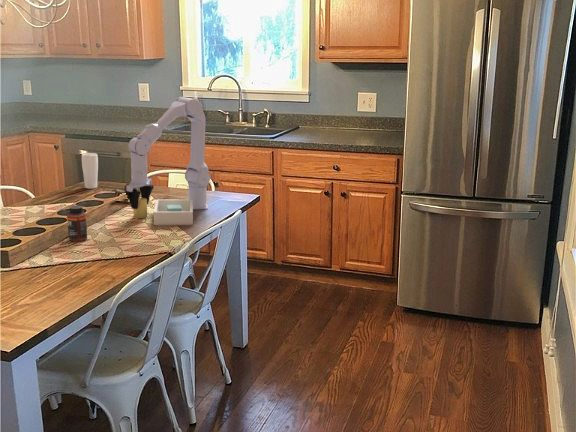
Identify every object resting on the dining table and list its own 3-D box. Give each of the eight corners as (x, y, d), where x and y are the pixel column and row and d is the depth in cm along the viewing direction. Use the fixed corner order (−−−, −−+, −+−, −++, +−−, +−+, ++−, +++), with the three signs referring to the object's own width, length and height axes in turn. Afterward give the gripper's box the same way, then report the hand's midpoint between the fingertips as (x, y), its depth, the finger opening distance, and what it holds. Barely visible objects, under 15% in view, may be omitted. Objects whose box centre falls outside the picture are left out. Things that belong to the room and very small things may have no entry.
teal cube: (167, 217, 234) (167, 205, 232) (180, 217, 235) (180, 204, 234) (167, 221, 229) (167, 208, 228) (181, 221, 230) (181, 208, 229)
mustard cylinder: (134, 215, 237) (133, 197, 235) (147, 215, 238) (147, 197, 236) (133, 219, 233) (132, 200, 231) (146, 219, 233) (146, 200, 232)
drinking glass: (80, 188, 272) (78, 155, 268) (87, 185, 279) (85, 152, 275) (94, 190, 271) (93, 156, 267) (101, 186, 278) (100, 153, 274)
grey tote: (156, 211, 243) (156, 199, 242) (192, 211, 245) (192, 199, 244) (153, 225, 226) (153, 212, 224) (192, 225, 228) (192, 212, 227)
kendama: (142, 194, 270) (138, 205, 251) (119, 195, 268) (113, 206, 249) (141, 181, 268) (137, 191, 249) (118, 181, 267) (112, 191, 248)
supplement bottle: (89, 236, 211) (87, 204, 208) (84, 242, 205) (82, 209, 202) (71, 236, 211) (69, 204, 208) (66, 242, 205) (64, 208, 202)
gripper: (138, 175, 223) (139, 212, 226) (158, 168, 236) (159, 203, 240) (121, 173, 225) (122, 209, 228) (142, 166, 238) (143, 200, 242)
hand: (140, 206), depth 234 cm, fingers open, 7 cm apart
